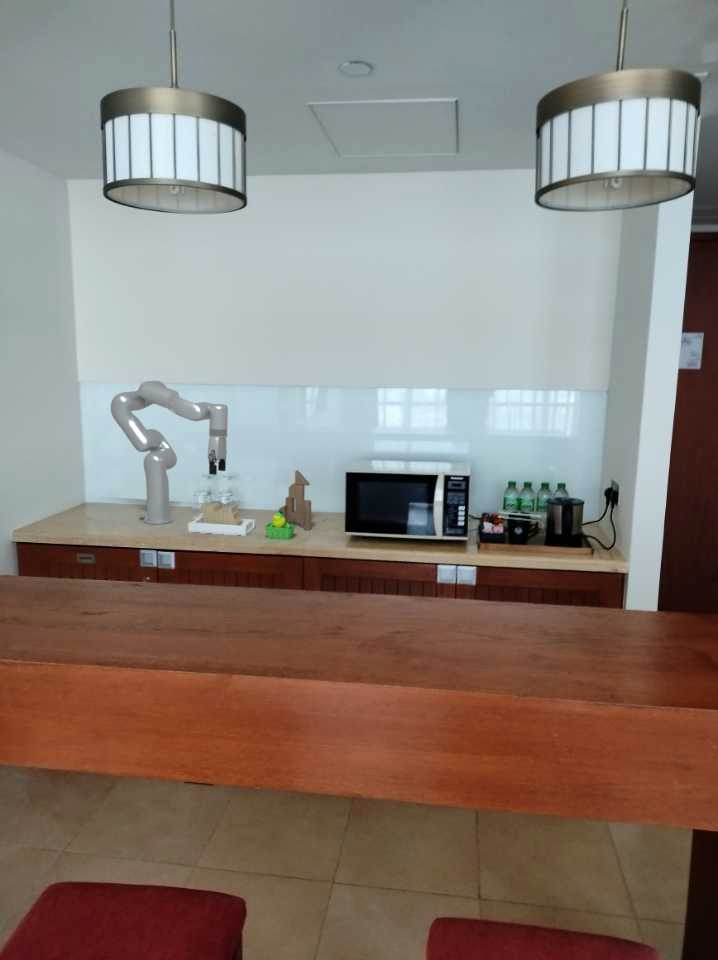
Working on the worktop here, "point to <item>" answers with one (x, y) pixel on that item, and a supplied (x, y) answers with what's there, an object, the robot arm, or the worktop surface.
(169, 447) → the robot arm
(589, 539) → the worktop surface
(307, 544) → the worktop surface
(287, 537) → the fruit basket
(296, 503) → the wooden toy
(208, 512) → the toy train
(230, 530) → the white tray
